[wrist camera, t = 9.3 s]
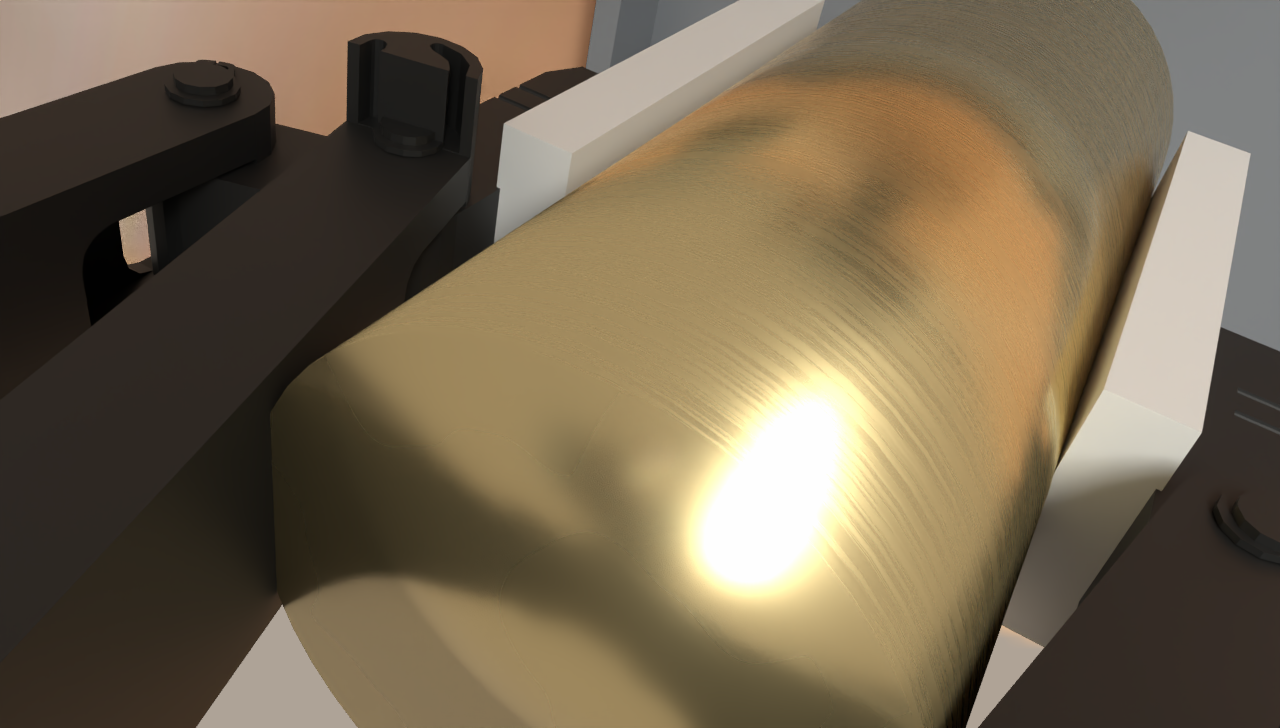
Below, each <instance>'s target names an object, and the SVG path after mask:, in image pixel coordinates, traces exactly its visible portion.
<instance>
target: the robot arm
mask: <svg viewBox="0 0 1280 728" xmlns="http://www.w3.org/2000/svg"><path fill="white" fill-rule="evenodd" d="M824 2H825V0H739V1H737V2H735V3H733V4H731V5H729V6H727V7H725V8H723V9H721V10H719V11H718V12H716V13H714V14H712V15H710V16H708V17H706V18H704V19H702V20H700V21H698V22H696V23H695V24H693V25H691V26H689V27H687V28H685V29H683V30H681V31H679V32H677V33H675V34H674V35H672V36H670V37H668V38H666V39H664V40H662V41H660V42H658V43H656V44H654V45H653V46H651V47H649V48H647V49H645V50H643V51H641V52H639V53H637V54H635V55H633V56H632V57H630V58H628V59H626V60H624V61H622V62H620V63H618V64H616V65H614V66H612V67H611V68H609V69H607V70H605V71H603V72H601V73H599V74H598V73H596V72H594V71H591V70H589V69H586V68H584V67H578V68H571V69H564V70H557V71H550V72H545V73H543V74H541V75H539V76H537V77H535V78H533V79H531V80H529V81H527V82H524V83H522V84H520V87H519V88H517V87H514V88H512V89H510V90H508V91H506V92H504V93H502V94H500V95H499V98H495V97H494V98H492V99H489V100H487V101H485V102H483V103H481V104H480V94H481V83H482V73H483V68H482V66H481V64H480V62H479V60H478V58H477V57H476V56H475V55H474V54H472V53H471V52H469V51H468V50H467V49H465V48H464V47H462V46H460V45H457V44H455V43H452V42H450V41H447V40H444V39H442V38H438V37H433V36H428V35H423V34H419V33H410V32H389V31H388V32H380V33H372V34H365V35H362V36H360V37H357V38H355V39H353V40H350V41H348V63H347V121H346V122H344V123H343V124H342V125H341V126H339V127H338V128H337V129H336V130H334V131H333V132H332V133H331V134H329V135H328V136H323V135H319V134H315V133H311V132H307V131H303V130H299V129H295V128H291V127H287V126H283V125H279V124H275V94H274V92H273V90H272V88H271V86H270V84H269V82H268V81H266V80H264V79H263V78H261V77H260V76H258V75H257V74H255V73H254V72H251V71H248V70H244V69H241V68H238V67H235V66H234V65H233V64H230V63H225V62H220V61H219V63H216V61H212V60H198V61H196V62H182V63H175V64H170V65H165V66H160V67H155V68H152V69H149V70H146V71H143V72H140V73H137V74H134V75H131V76H128V77H125V78H122V79H119V80H116V81H113V82H110V83H107V84H104V85H101V86H97V87H94V88H91V89H88V90H85V91H82V92H79V93H76V94H73V95H70V96H67V97H64V98H61V99H58V100H55V101H52V102H49V103H46V104H43V105H40V106H37V107H34V108H30V109H27V110H24V111H21V112H18V113H15V114H12V115H9V116H6V117H3V118H0V728H196V726H197V725H198V724H199V722H200V721H201V719H202V718H203V716H204V715H205V714H206V712H207V711H208V709H209V708H210V706H211V705H212V703H213V702H214V701H215V699H216V698H217V697H218V695H219V694H220V692H221V691H222V689H223V688H224V687H225V685H226V684H227V682H228V681H229V679H230V678H231V677H232V675H233V674H234V672H235V671H236V669H237V668H238V667H239V665H240V664H241V662H242V661H243V659H244V658H245V657H246V655H247V654H248V652H249V651H250V650H251V648H252V647H253V645H254V644H255V642H256V641H257V640H258V638H259V637H260V635H261V634H262V633H263V631H264V630H265V628H266V627H267V625H268V624H269V623H270V621H271V620H272V618H273V617H274V615H275V614H276V613H277V611H278V610H279V608H280V607H281V605H282V602H281V600H280V598H279V595H278V593H277V577H276V552H275V527H274V501H273V476H272V451H271V425H270V413H271V411H272V409H273V407H274V406H275V404H276V403H277V401H278V400H279V398H280V397H281V395H282V394H283V392H284V391H285V389H286V388H287V386H288V385H289V384H290V383H291V382H292V381H293V380H294V379H295V378H296V377H297V376H298V375H300V374H301V373H302V372H303V371H304V370H305V369H306V368H307V367H308V366H309V365H310V364H312V363H313V362H315V361H316V360H318V359H319V358H321V357H322V356H324V355H325V354H327V353H329V352H330V351H332V350H333V349H335V348H336V347H338V346H339V345H341V344H342V343H344V342H345V341H347V340H348V339H350V338H351V337H353V336H354V335H356V334H357V333H359V332H360V331H362V330H363V329H365V328H366V327H368V326H369V325H371V324H372V323H374V322H375V321H377V320H378V319H380V318H382V317H383V316H385V315H386V314H388V313H389V312H391V311H392V310H394V309H395V308H397V307H398V306H400V305H401V304H403V303H404V302H406V301H407V300H409V299H410V298H412V297H413V296H415V295H416V294H418V293H419V292H421V291H422V290H424V289H425V288H427V287H428V286H430V285H431V284H433V283H435V282H436V281H438V280H439V279H441V278H442V277H444V276H445V275H447V274H448V273H450V272H451V271H453V270H454V269H456V268H457V267H459V266H460V265H462V264H463V263H465V262H466V261H468V260H469V259H471V258H472V257H474V256H475V255H477V254H478V253H480V252H481V251H483V250H484V249H486V248H488V247H489V246H491V245H492V244H494V243H495V242H497V241H498V240H500V239H501V238H503V237H504V236H506V235H507V234H509V233H510V232H512V231H513V230H515V229H516V228H518V227H519V226H521V225H522V224H524V223H525V222H527V221H528V220H530V219H531V218H533V217H534V216H536V215H537V214H539V213H540V212H542V211H544V210H545V209H547V208H548V207H550V206H551V205H553V204H554V203H556V202H557V201H559V200H560V199H562V198H563V197H565V196H566V195H568V194H569V193H571V192H572V191H574V190H575V189H577V188H578V187H580V186H581V185H583V184H584V183H586V182H587V181H589V180H590V179H592V178H593V177H595V176H597V175H598V174H600V173H601V172H603V171H604V170H606V169H607V168H609V167H610V166H612V165H613V164H615V163H616V162H618V161H619V160H621V159H622V158H624V157H625V156H627V155H628V154H630V153H631V152H633V151H634V150H636V149H637V148H639V147H640V146H642V145H643V144H645V143H646V142H648V141H650V140H651V139H653V138H654V137H656V136H657V135H659V134H660V133H662V132H663V131H665V130H666V129H668V128H669V127H671V126H672V125H674V124H675V123H677V122H678V121H680V120H681V119H683V118H684V117H686V116H687V115H689V114H690V113H692V112H693V111H695V110H696V109H698V108H699V107H701V106H703V105H704V104H706V103H707V102H709V101H710V100H712V99H713V98H715V97H716V96H718V95H719V94H721V93H722V92H724V91H725V90H727V89H728V88H730V87H731V86H733V85H734V84H736V83H737V82H739V81H740V80H742V79H743V78H745V77H746V76H748V75H749V74H751V73H752V72H754V71H755V70H757V69H759V68H760V67H762V66H763V65H765V64H766V63H768V62H769V61H771V60H772V59H774V58H775V57H777V56H778V55H780V54H781V53H783V52H784V51H786V50H787V49H789V48H790V47H792V46H793V45H795V44H796V43H798V42H799V41H801V40H802V39H804V38H805V37H807V36H808V35H810V34H812V33H813V32H815V31H816V29H817V26H818V22H819V19H820V15H821V12H822V9H823V5H824ZM1250 154H1251V153H1248V152H1245V151H1242V150H1240V149H1237V148H1234V147H1231V146H1229V145H1226V144H1223V143H1220V142H1218V141H1215V140H1212V139H1209V138H1207V137H1204V136H1201V135H1198V134H1196V133H1193V132H1190V131H1188V132H1187V134H1186V135H1185V137H1184V139H1183V141H1182V143H1181V145H1180V146H1179V148H1178V150H1177V152H1176V154H1175V155H1174V157H1173V159H1172V161H1171V163H1170V165H1169V166H1168V168H1167V170H1166V172H1165V174H1164V176H1163V177H1162V179H1161V181H1160V183H1159V185H1158V186H1157V188H1156V190H1155V192H1154V194H1153V196H1152V197H1151V200H1150V203H1149V206H1148V209H1147V212H1146V214H1145V217H1144V220H1143V223H1142V226H1141V229H1140V231H1139V234H1138V237H1137V240H1136V243H1135V246H1134V248H1133V251H1132V254H1131V257H1130V260H1129V263H1128V265H1127V268H1126V271H1125V274H1124V277H1123V280H1122V282H1121V285H1120V288H1119V291H1118V294H1117V296H1116V299H1115V302H1114V305H1113V308H1112V311H1111V313H1110V316H1109V319H1108V322H1107V325H1106V328H1105V330H1104V333H1103V336H1102V339H1101V342H1100V345H1099V347H1098V350H1097V353H1096V356H1095V359H1094V362H1093V364H1092V367H1091V370H1090V373H1089V376H1088V379H1087V381H1086V384H1085V387H1084V390H1083V393H1082V396H1081V398H1080V401H1079V404H1078V407H1077V410H1076V412H1075V415H1074V418H1073V421H1072V424H1071V427H1070V429H1069V432H1068V435H1067V438H1066V441H1065V444H1064V446H1063V449H1062V452H1061V455H1060V458H1059V461H1058V463H1057V466H1056V469H1055V472H1054V475H1053V479H1052V482H1051V486H1050V489H1049V492H1048V495H1047V498H1046V501H1045V503H1044V506H1043V509H1042V512H1041V515H1040V518H1039V520H1038V523H1037V526H1036V529H1035V532H1034V535H1033V537H1032V540H1031V543H1030V546H1029V549H1028V552H1027V555H1026V557H1025V560H1024V563H1023V566H1022V569H1021V572H1020V574H1019V577H1018V580H1017V583H1016V586H1015V589H1014V591H1013V594H1012V597H1011V600H1010V603H1009V606H1008V609H1007V611H1006V614H1005V617H1004V620H1003V623H1002V625H1003V626H1005V627H1007V628H1009V629H1011V630H1012V631H1014V632H1016V633H1018V634H1020V635H1022V636H1024V637H1026V638H1028V639H1030V640H1032V641H1033V642H1035V643H1037V644H1039V645H1041V646H1043V647H1045V648H1044V649H1043V650H1042V651H1041V652H1040V654H1039V655H1038V656H1037V657H1036V659H1035V660H1034V661H1033V662H1032V663H1031V664H1030V666H1029V667H1028V668H1027V669H1026V671H1025V672H1024V673H1023V674H1022V675H1021V676H1020V678H1019V679H1018V680H1017V681H1016V683H1015V684H1014V685H1013V686H1012V687H1011V689H1010V690H1009V691H1008V692H1007V693H1006V695H1005V696H1004V697H1003V698H1002V699H1001V701H1000V702H999V703H998V704H997V705H996V707H995V708H994V709H993V710H992V711H991V713H990V714H989V715H988V716H987V717H986V719H985V720H984V721H983V722H982V724H981V725H980V726H979V727H978V728H1280V351H1278V350H1275V349H1273V348H1271V347H1268V346H1266V345H1263V344H1261V343H1258V342H1256V341H1254V340H1251V339H1249V338H1246V337H1244V336H1241V335H1239V334H1237V333H1234V332H1232V331H1229V330H1227V329H1225V328H1222V327H1220V326H1221V321H1222V315H1223V309H1224V303H1225V298H1226V292H1227V286H1228V280H1229V275H1230V269H1231V263H1232V257H1233V252H1234V246H1235V240H1236V235H1237V229H1238V223H1239V217H1240V212H1241V206H1242V200H1243V194H1244V189H1245V183H1246V177H1247V171H1248V166H1249V160H1250ZM144 209H146V216H147V224H148V233H149V242H150V250H151V257H149V258H147V259H145V260H143V261H141V262H138V263H134V264H129V265H127V263H126V261H125V259H124V256H123V249H122V242H121V235H120V227H119V220H122V219H124V218H126V217H128V216H131V215H133V214H135V213H137V212H140V211H142V210H144Z"/></svg>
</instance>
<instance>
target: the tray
mask: <svg viewBox="0 0 1280 728" xmlns="http://www.w3.org/2000/svg"><path fill="white" fill-rule="evenodd" d="M737 1H739V0H596V6H595V12H594V19H593V25H592V31H591V38H590V44H589V51H588V57H587V63H586V69H589V70H591V71H594V72H596V73H598V74H599V73H601V72H603V71H605V70H607V69H609V68H611V67H612V66H614V65H616V64H618V63H620V62H622V61H624V60H626V59H628V58H630V57H632V56H633V55H635V54H637V53H639V52H641V51H643V50H645V49H647V48H649V47H651V46H653V45H654V44H656V43H658V42H660V41H662V40H664V39H666V38H668V37H670V36H672V35H674V34H675V33H677V32H679V31H681V30H683V29H685V28H687V27H689V26H691V25H693V24H695V23H696V22H698V21H700V20H702V19H704V18H706V17H708V16H710V15H712V14H714V13H716V12H718V11H719V10H721V9H723V8H725V7H727V6H729V5H731V4H733V3H735V2H737ZM860 1H861V0H825V2H824V5H823V9H822V12H821V15H820V19H819V22H818V26H817V29H816V30H818V29H819V28H821V27H822V26H824V25H825V24H827V23H828V22H830V21H831V20H833V19H834V18H836V17H837V16H839V15H840V14H842V13H843V12H845V11H846V10H848V9H849V8H851V7H852V6H854V5H855V4H857V3H858V2H860ZM1131 1H1132V2H1133V3H1134V4H1135V5H1136V6H1137V7H1138V8H1139V10H1140V11H1141V13H1142V14H1143V16H1144V17H1145V19H1146V20H1147V21H1148V23H1149V24H1150V26H1151V27H1152V29H1153V31H1154V33H1155V35H1156V37H1157V39H1158V41H1159V43H1160V45H1161V48H1162V50H1163V53H1164V56H1165V59H1166V62H1167V66H1168V69H1169V72H1170V78H1171V84H1172V91H1173V126H1172V133H1171V140H1170V145H1169V148H1168V152H1167V155H1166V158H1165V162H1164V165H1163V168H1162V171H1161V174H1160V176H1159V179H1158V182H1157V185H1156V188H1157V186H1158V185H1159V183H1160V181H1161V179H1162V177H1163V176H1164V174H1165V172H1166V170H1167V168H1168V166H1169V165H1170V163H1171V161H1172V159H1173V157H1174V155H1175V154H1176V152H1177V150H1178V148H1179V146H1180V145H1181V143H1182V141H1183V139H1184V137H1185V135H1186V134H1187V132H1188V131H1190V132H1193V133H1196V134H1198V135H1201V136H1204V137H1207V138H1209V139H1212V140H1215V141H1218V142H1220V143H1223V144H1226V145H1229V146H1231V147H1234V148H1237V149H1240V150H1242V151H1245V152H1248V153H1251V154H1250V160H1249V166H1248V171H1247V177H1246V183H1245V189H1244V194H1243V200H1242V206H1241V212H1240V217H1239V223H1238V229H1237V235H1236V240H1235V246H1234V252H1233V257H1232V263H1231V269H1230V275H1229V280H1228V286H1227V292H1226V298H1225V303H1224V309H1223V315H1222V321H1221V326H1220V327H1222V328H1225V329H1227V330H1229V331H1232V332H1234V333H1237V334H1239V335H1241V336H1244V337H1246V338H1249V339H1251V340H1254V341H1256V342H1258V343H1261V344H1263V345H1266V346H1268V347H1271V348H1273V349H1275V350H1278V351H1280V0H1131ZM1156 188H1155V190H1156ZM1154 192H1155V191H1154Z"/></svg>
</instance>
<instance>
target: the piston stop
mask: <svg viewBox="0 0 1280 728" xmlns="http://www.w3.org/2000/svg"><path fill="white" fill-rule="evenodd" d="M1172 126H1173V91H1172V84H1171V78H1170V72H1169V69H1168V66H1167V62H1166V59H1165V56H1164V53H1163V50H1162V48H1161V45H1160V43H1159V41H1158V39H1157V37H1156V35H1155V33H1154V31H1153V29H1152V27H1151V26H1150V24H1149V23H1148V21H1147V20H1146V19H1145V17H1144V16H1143V14H1142V13H1141V11H1140V10H1139V8H1138V7H1137V6H1136V5H1135V4H1134V3H1133V2H1132V1H1131V0H861V1H860V2H858V3H857V4H855V5H854V6H852V7H851V8H849V9H848V10H846V11H845V12H843V13H842V14H840V15H839V16H837V17H836V18H834V19H833V20H831V21H830V22H828V23H827V24H825V25H824V26H822V27H821V28H819V29H818V30H816V31H815V32H813V33H812V34H810V35H808V36H807V37H805V38H804V39H802V40H801V41H799V42H798V43H796V44H795V45H793V46H792V47H790V48H789V49H787V50H786V51H784V52H783V53H781V54H780V55H778V56H777V57H775V58H774V59H772V60H771V61H769V62H768V63H766V64H765V65H763V66H762V67H760V68H759V69H757V70H755V71H754V72H752V73H751V74H749V75H748V76H746V77H745V78H743V79H742V80H740V81H739V82H737V83H736V84H734V85H733V86H731V87H730V88H728V89H727V90H725V91H724V92H722V93H721V94H719V95H718V96H716V97H715V98H713V99H712V100H710V101H709V102H707V103H706V104H704V105H703V106H701V107H699V108H698V109H696V110H695V111H693V112H692V113H690V114H689V115H687V116H686V117H684V118H683V119H681V120H680V121H678V122H677V123H675V124H674V125H672V126H671V127H669V128H668V129H666V130H665V131H663V132H662V133H660V134H659V135H657V136H656V137H654V138H653V139H651V140H650V141H648V142H646V143H645V144H643V145H642V146H640V147H639V148H637V149H636V150H634V151H633V152H631V153H630V154H628V155H627V156H625V157H624V158H622V159H621V160H619V161H618V162H616V163H615V164H613V165H612V166H610V167H609V168H607V169H606V170H604V171H603V172H601V173H600V174H598V175H597V176H595V177H593V178H592V179H590V180H589V181H587V182H586V183H584V184H583V185H581V186H580V187H578V188H577V189H575V190H574V191H572V192H571V193H569V194H568V195H566V196H565V197H563V198H562V199H560V200H559V201H557V202H556V203H554V204H553V205H551V206H550V207H548V208H547V209H545V210H544V211H542V212H540V213H539V214H537V215H536V216H534V217H533V218H531V219H530V220H528V221H527V222H525V223H524V224H522V225H521V226H519V227H518V228H516V229H515V230H513V231H512V232H510V233H509V234H507V235H506V236H504V237H503V238H501V239H500V240H498V241H497V242H495V243H494V244H492V245H491V246H489V247H488V248H486V249H484V250H483V251H481V252H480V253H478V254H477V255H475V256H474V257H472V258H471V259H469V260H468V261H466V262H465V263H463V264H462V265H460V266H459V267H457V268H456V269H454V270H453V271H451V272H450V273H448V274H447V275H445V276H444V277H442V278H441V279H439V280H438V281H436V282H435V283H433V284H431V285H430V286H428V287H427V288H425V289H424V290H422V291H421V292H419V293H418V294H416V295H415V296H413V297H412V298H410V299H409V300H407V301H406V302H404V303H403V304H401V305H400V306H398V307H397V308H395V309H394V310H392V311H391V312H389V313H388V314H386V315H385V316H383V317H382V318H380V319H378V320H377V321H375V322H374V323H372V324H371V325H369V326H368V327H366V328H365V329H363V330H362V331H360V332H359V333H357V334H356V335H354V336H353V337H351V338H350V339H348V340H347V341H345V342H344V343H342V344H341V345H339V346H338V347H336V348H335V349H333V350H332V351H330V352H329V353H327V354H325V355H324V356H322V357H321V358H319V359H318V360H316V361H315V362H313V363H312V364H310V365H309V366H308V367H307V368H306V369H305V370H304V371H303V372H302V373H301V374H300V375H298V376H297V377H296V378H295V379H294V380H293V381H292V382H291V383H290V384H289V385H288V386H287V388H286V389H285V391H284V392H283V394H282V395H281V397H280V398H279V400H278V401H277V403H276V404H275V406H274V407H273V409H272V411H271V413H270V425H271V451H272V476H273V501H274V527H275V552H276V577H277V593H278V595H279V598H280V600H281V602H282V604H283V607H284V609H285V611H286V613H287V615H288V618H289V620H290V622H291V624H292V626H293V629H294V631H295V632H296V634H297V636H298V638H299V640H300V642H301V643H302V645H303V647H304V649H305V651H306V652H307V654H308V656H309V658H310V660H311V661H312V663H313V665H314V666H315V668H316V669H317V671H318V672H319V674H320V675H321V677H322V678H323V680H324V681H325V683H326V685H327V686H328V688H329V689H330V691H331V692H332V694H333V695H334V697H335V698H336V699H337V701H338V702H339V703H340V705H341V706H342V707H343V709H344V710H345V711H346V713H347V714H348V715H349V717H350V718H351V719H352V721H353V722H354V723H355V725H356V726H357V727H358V728H966V725H967V722H968V719H969V716H970V713H971V711H972V708H973V705H974V702H975V699H976V696H977V693H978V691H979V688H980V685H981V682H982V680H983V677H984V674H985V671H986V668H987V665H988V662H989V660H990V657H991V654H992V651H993V648H994V645H995V643H996V640H997V637H998V634H999V631H1000V628H1001V626H1002V623H1003V620H1004V617H1005V614H1006V611H1007V609H1008V606H1009V603H1010V600H1011V597H1012V594H1013V591H1014V589H1015V586H1016V583H1017V580H1018V577H1019V574H1020V572H1021V569H1022V566H1023V563H1024V560H1025V557H1026V555H1027V552H1028V549H1029V546H1030V543H1031V540H1032V537H1033V535H1034V532H1035V529H1036V526H1037V523H1038V520H1039V518H1040V515H1041V512H1042V509H1043V506H1044V503H1045V501H1046V498H1047V495H1048V492H1049V489H1050V486H1051V482H1052V479H1053V475H1054V472H1055V469H1056V466H1057V463H1058V461H1059V458H1060V455H1061V452H1062V449H1063V446H1064V444H1065V441H1066V438H1067V435H1068V432H1069V429H1070V427H1071V424H1072V421H1073V418H1074V415H1075V412H1076V410H1077V407H1078V404H1079V401H1080V398H1081V396H1082V393H1083V390H1084V387H1085V384H1086V381H1087V379H1088V376H1089V373H1090V370H1091V367H1092V364H1093V362H1094V359H1095V356H1096V353H1097V350H1098V347H1099V345H1100V342H1101V339H1102V336H1103V333H1104V330H1105V328H1106V325H1107V322H1108V319H1109V316H1110V313H1111V311H1112V308H1113V305H1114V302H1115V299H1116V296H1117V294H1118V291H1119V288H1120V285H1121V282H1122V280H1123V277H1124V274H1125V271H1126V268H1127V265H1128V263H1129V260H1130V257H1131V254H1132V251H1133V248H1134V246H1135V243H1136V240H1137V237H1138V234H1139V231H1140V229H1141V226H1142V223H1143V220H1144V217H1145V214H1146V212H1147V209H1148V206H1149V203H1150V200H1151V197H1152V196H1153V194H1154V191H1155V188H1156V185H1157V182H1158V179H1159V176H1160V174H1161V171H1162V168H1163V165H1164V162H1165V158H1166V155H1167V152H1168V148H1169V145H1170V140H1171V133H1172Z"/></svg>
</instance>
